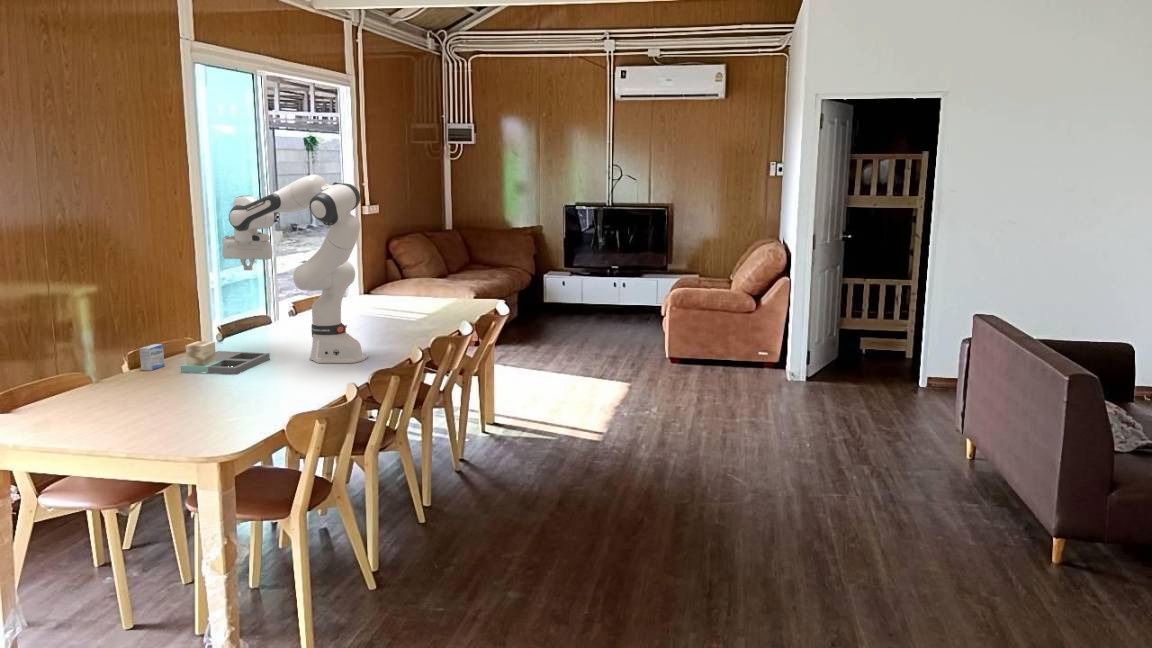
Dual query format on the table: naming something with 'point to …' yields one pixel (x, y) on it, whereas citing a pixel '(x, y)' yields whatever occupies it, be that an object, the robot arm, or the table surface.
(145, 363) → the medicine box
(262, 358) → the tray
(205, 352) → the birch block
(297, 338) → the table surface
